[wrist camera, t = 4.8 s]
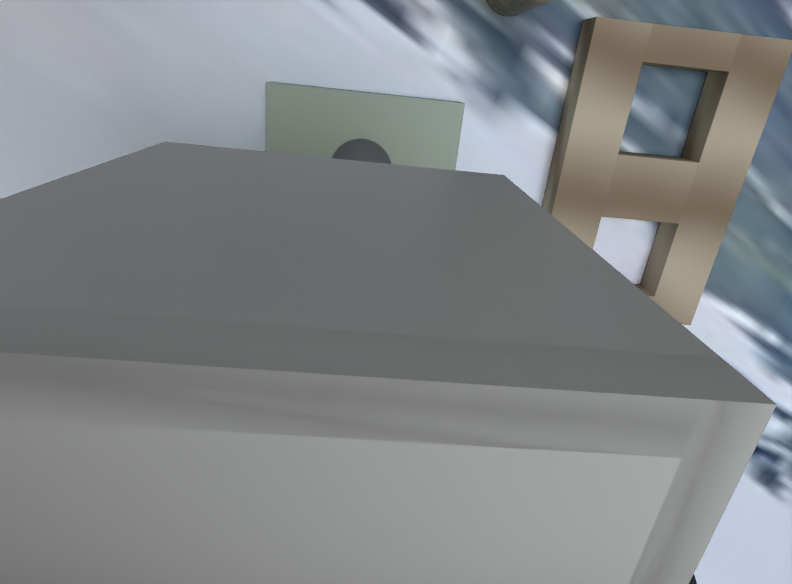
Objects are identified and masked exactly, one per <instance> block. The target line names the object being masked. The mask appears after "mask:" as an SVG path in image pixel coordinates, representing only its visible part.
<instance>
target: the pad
mask: <svg viewBox="0 0 792 584" xmlns="http://www.w3.org/2000/svg"><path fill="white" fill-rule="evenodd" d="M464 106H465V103H462V102H456V101H446V100H437V99H428V98H418V97H409V96H400V95H390V94H381V93H372V92H362V91H353V90H344V89H334V88H325V87H316V86H306V85H297V84H288V83H278V82H266V152H274V153H284V154H294V155H304V156H314V157H325V158H335V159H345V160H355V161H365V162H375V163H385V164H396V165H406V166H416V167H426V168H436V169H446V170H455V168H456V161H457V154H458V147H459V140H460V133H461V127H462V120H463V113H464Z"/></svg>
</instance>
